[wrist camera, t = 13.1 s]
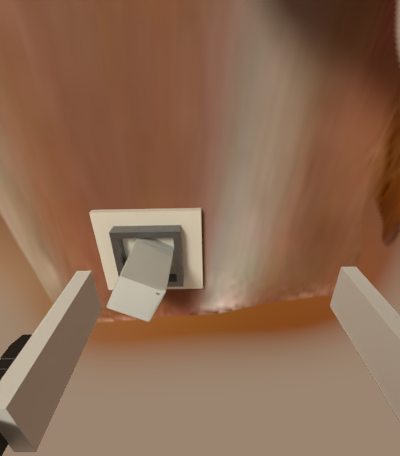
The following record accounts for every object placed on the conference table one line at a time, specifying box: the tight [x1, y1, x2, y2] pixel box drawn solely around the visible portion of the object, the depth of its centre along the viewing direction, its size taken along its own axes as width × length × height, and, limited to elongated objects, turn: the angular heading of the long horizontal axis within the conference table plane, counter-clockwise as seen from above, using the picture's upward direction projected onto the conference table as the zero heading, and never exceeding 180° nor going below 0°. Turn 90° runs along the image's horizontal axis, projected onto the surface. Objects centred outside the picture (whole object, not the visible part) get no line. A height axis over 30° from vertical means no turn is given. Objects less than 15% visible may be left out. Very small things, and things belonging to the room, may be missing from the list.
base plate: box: [90, 208, 203, 290], centre depth 50 cm, size 18×20×1 cm
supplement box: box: [107, 238, 174, 322], centre depth 44 cm, size 7×7×13 cm
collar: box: [109, 225, 184, 287], centre depth 48 cm, size 12×12×2 cm
